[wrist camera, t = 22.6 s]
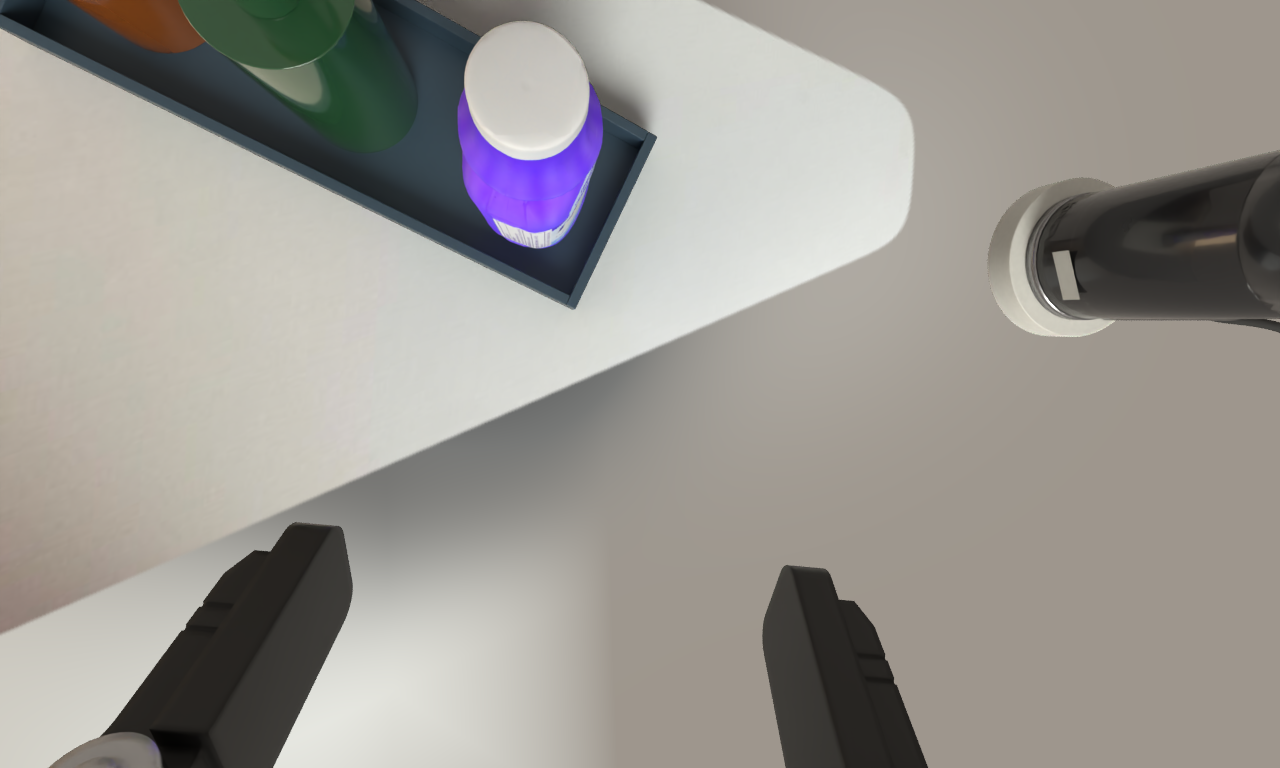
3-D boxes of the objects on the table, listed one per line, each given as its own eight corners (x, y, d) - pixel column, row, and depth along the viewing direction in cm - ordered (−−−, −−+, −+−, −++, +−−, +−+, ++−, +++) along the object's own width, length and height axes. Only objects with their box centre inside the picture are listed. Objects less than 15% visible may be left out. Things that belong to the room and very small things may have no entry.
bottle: (560, 266, 37) (574, 222, 20) (470, 230, 36) (404, 152, 19) (601, 153, 37) (650, 12, 20) (511, 115, 36) (482, -70, 19)
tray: (650, 148, 38) (657, 136, 35) (573, 310, 38) (575, 309, 36) (111, -153, 32) (73, -194, 29) (25, 41, 32) (-20, 17, 30)
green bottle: (437, 73, 35) (339, -151, 18) (390, 174, 35) (252, 43, 19) (328, 14, 34) (119, -282, 17) (280, 118, 34) (27, -75, 17)
